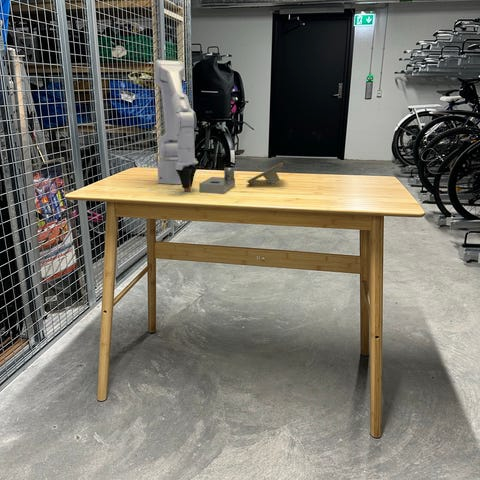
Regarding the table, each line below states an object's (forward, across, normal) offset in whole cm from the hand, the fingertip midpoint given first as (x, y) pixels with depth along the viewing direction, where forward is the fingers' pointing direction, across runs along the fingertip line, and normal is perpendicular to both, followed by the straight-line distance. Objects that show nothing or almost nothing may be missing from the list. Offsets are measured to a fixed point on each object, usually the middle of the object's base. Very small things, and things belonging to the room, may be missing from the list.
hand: (187, 187), depth 148 cm
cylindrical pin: (+1, 0, 0) cm, 1 cm away
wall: (+2, +22, -23) cm, 32 cm away
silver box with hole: (+1, +7, -9) cm, 11 cm away
